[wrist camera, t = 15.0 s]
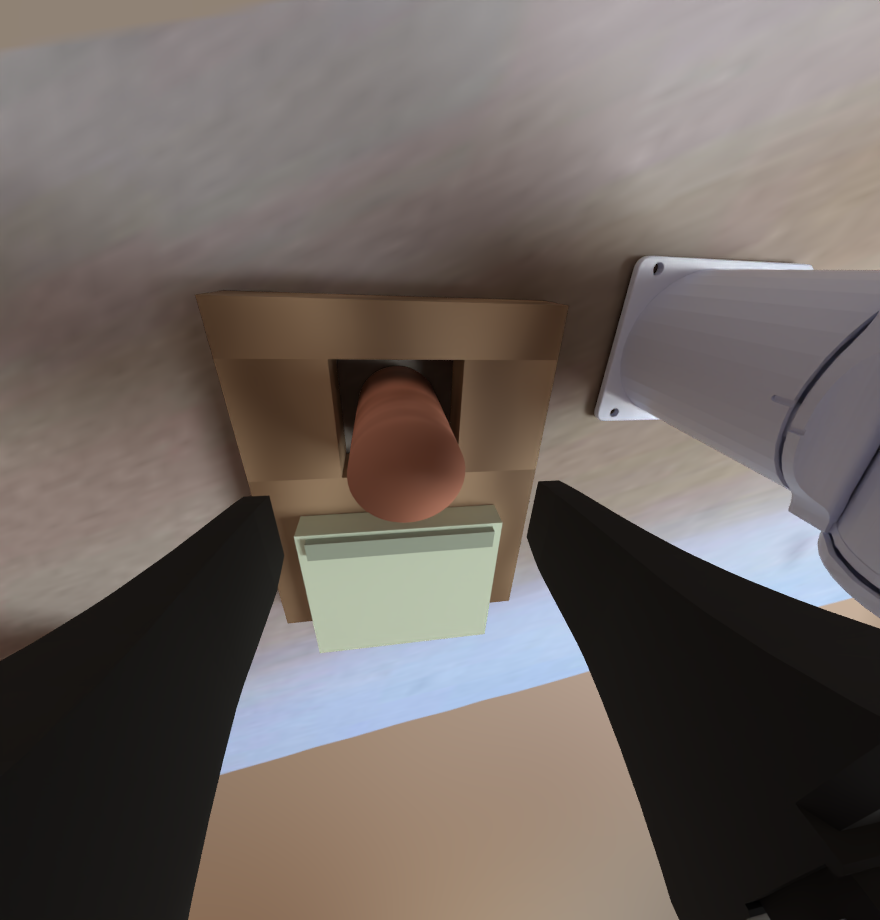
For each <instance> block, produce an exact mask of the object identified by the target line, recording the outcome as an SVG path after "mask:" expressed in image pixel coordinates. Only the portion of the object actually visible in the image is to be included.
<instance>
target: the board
mask: <svg viewBox="0 0 880 920" xmlns="http://www.w3.org/2000/svg"><path fill="white" fill-rule="evenodd" d="M195 296H196V300H197V303H198V307H199V310H200V314H201V317H202V321H203V324H204V328H205V331H206V335H207V339H208V342H209V346H210V349H211V353H212V356H213V360H214V363H215V367H216V371H217V374H218V378H219V381H220V385H221V388H222V392H223V395H224V399H225V402H226V406H227V410H228V413H229V417H230V420H231V424H232V427H233V431H234V434H235V438H236V441H237V445H238V449H239V452H240V456H241V459H242V463H243V466H244V470H245V473H246V477H247V481H248V484H249V488H250V491H251V495H252V496H268V495H269V496H270V500H271V504H272V508H273V512H274V516H275V520H276V524H277V528H278V532H279V536H280V539H281V543H282V547H283V551H284V560H283V565H282V570H281V575H280V579H279V584H278V591H279V594H280V598H281V601H282V605H283V608H284V612H285V615H286V619H287V622H288V623H296V622H306V621H313V620H312V615H311V611H310V606H309V602H308V598H307V593H306V589H305V584H304V580H303V575H302V571H301V566H300V562H299V557H298V553H297V549H296V544H295V540H294V535H295V532H296V529H297V526H298V523H299V520H300V517H301V516H315V515H331V514H348V513H365V512H367V511H366V510H364V509H363V508H362V507H361V506H360V505H359V504H358V503H357V502H356V500H355V499H354V498H353V496H352V494H351V492H350V489H349V486H348V481H347V468H348V461H349V455H350V453H346V444H345V435H344V426H343V416H342V407H341V398H340V389H339V380H338V370H337V361H336V359H392V360H453V373H452V391H451V409H450V428H451V430H452V432H453V434H454V436H455V439H456V441H457V443H458V445H459V448H460V450H461V452H462V454H463V457H464V461H465V478H464V482H463V485H462V488H461V490H460V492H459V494H458V495H457V497H456V498H455V499H454V500H453V502H452V503H451V504H450V505H449V506H448V507H465V506H482V505H494V506H495V508H496V510H497V512H498V514H499V516H500V518H501V520H502V529H501V535H500V541H499V547H498V554H497V560H496V566H495V572H494V578H493V584H492V590H491V596H490V602H500V601H509V597H510V592H511V587H512V582H513V578H514V573H515V568H516V563H517V558H518V553H519V548H520V543H521V538H522V533H523V528H524V524H525V519H526V514H527V509H528V504H529V499H530V494H531V489H532V484H533V479H534V474H535V470H536V465H537V460H538V455H539V450H540V445H541V440H542V435H543V430H544V425H545V420H546V416H547V411H548V406H549V401H550V396H551V391H552V386H553V381H554V376H555V371H556V366H557V361H558V357H559V352H560V347H561V342H562V337H563V332H564V327H565V322H566V317H567V312H568V307H569V306H568V305H563V304H558V303H553V302H548V301H541V300H510V299H478V298H447V297H415V296H383V295H352V294H320V293H289V292H257V291H226V290H223V291H217V292H210V293H203V294H196V295H195ZM448 507H446V508H448Z"/></svg>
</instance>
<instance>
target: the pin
mask: <svg viewBox="0 0 880 920" xmlns="http://www.w3.org/2000/svg"><path fill="white" fill-rule="evenodd" d="M464 478H465V461H464V457H463V454H462V452H461V450H460V448H459V445H458V443H457V441H456V439H455V436H454V434H453V432H452V430H451V428H450V425H449V423H448V421H447V419H446V416H445V414H444V412H443V410H442V408H441V405H440V403H439V401H438V399H437V396H436V394H435V392H434V390H433V388H432V386H431V384H430V382H429V381H428V380H427V379H426V378H425V377H424V376H423V375H422V374H420V373H419V372H417V371H415V370H414V369H411V368H408V367H403V366H391V367H386V368H383V369H381V370H379V371H377V372H375V373H374V374H372V375H371V376H370V377H369V378H368V379H367V380H366V381H365V383H364V384H363V386H362V388H361V390H360V393H359V398H358V404H357V411H356V417H355V423H354V430H353V436H352V442H351V449H350V455H349V461H348V468H347V481H348V486H349V489H350V492H351V494H352V496H353V498H354V499H355V500H356V502H357V503H358V504H359V505H360V506H361V507H362V508H363V509H364V510H366V511H367V512H368V513H370V514H372V515H373V516H375V517H378V518H380V519H383V520H386V521H391V522H398V523H408V522H416V521H421V520H424V519H427V518H430V517H432V516H434V515H436V514H438V513H440V512H441V511H442V510H444V509H445V508H446V507H448V506H449V505H450V504H451V503H452V502H453V500H454V499H455V498H456V497H457V495H458V494H459V492H460V490H461V488H462V485H463V482H464Z"/></svg>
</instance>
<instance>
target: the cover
mask: <svg viewBox="0 0 880 920" xmlns="http://www.w3.org/2000/svg"><path fill="white" fill-rule="evenodd" d="M501 529H502V520H501V518H500V516H499V514H498V512H497V510H496V508H495V506H494V505H482V506H465V507H448V508H445V509H444V510H442V511H441V512H440V513H438V514H436V515H434V516H432V517H430V518H427V519H424V520H421V521H416V522H408V523H398V522H391V521H386V520H383V519H380V518H378V517H375V516H373V515H372V514H370V513H368V512H365V513H348V514H331V515H315V516H301V517H300V520H299V523H298V526H297V529H296V532H295V535H294V540H295V544H296V549H297V553H298V557H299V562H300V566H301V571H302V575H303V580H304V584H305V589H306V593H307V598H308V602H309V606H310V611H311V615H312V620H313V624H314V629H315V633H316V638H317V642H318V647H319V651H320V653H326V652H334V651H343V650H351V649H360V648H368V647H377V646H386V645H394V644H403V643H411V642H420V641H428V640H437V639H446V638H454V637H463V636H471V635H480V634H484V633H485V627H486V621H487V615H488V609H489V603H490V596H491V590H492V584H493V578H494V572H495V566H496V560H497V554H498V547H499V541H500V535H501Z"/></svg>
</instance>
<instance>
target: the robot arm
mask: <svg viewBox="0 0 880 920" xmlns="http://www.w3.org/2000/svg"><path fill="white" fill-rule="evenodd" d="M656 264H657V265H658V269H657V271H656V273H655V274H654V273H653V268H654V266H655V265H656ZM614 408H615V410H614V412H613V413H612V414H610V412H611V410H613V409H614ZM594 414H595V417H597V418H598V419H599V420H602V421H617V420H659V419H660V420H662V421H664V422H666V423H668V424H670V425H671V426H673V427H675V428H677V429H679V430H680V431H682V432H684V433H686V434H688V435H690V436H691V437H693V438H695V439H697V440H699V441H701V442H702V443H704V444H706V445H708V446H710V447H712V448H713V449H715V450H717V451H719V452H721V453H722V454H724V455H726V456H728V457H730V458H732V459H733V460H735V461H737V462H739V463H741V464H743V465H744V466H746V467H748V468H750V469H752V470H754V471H755V472H757V473H759V474H761V475H763V476H764V477H766V478H768V479H770V480H772V481H774V482H775V483H777V484H779V485H781V486H783V487H785V488H786V489H788V490H790V491H791V492H792V499H791V503H790V506H789V512H791V513H792V514H794V515H796V516H797V517H799V518H801V519H802V520H804V521H806V522H807V523H809V524H811V525H812V526H814V527H816V528H817V529H819V530H821V533H820V535H819V539H818V552H819V556H820V558H821V560H822V562H823V565H824V566H825V568H826V569H827V570H828V572H829V573H830V575H831V576H832V577H833V579H834V580H835V581H836V582H837V583H838V584H839V585H840V586H841V587H842V588H843V589H844V590H845V591H846V592H847V593H848V594H849V595H851V596H852V597H853V598H854V599H855V600H856V601H858V602H859V603H860V604H861V605H862V606H864V607H865V608H866V609H868V610H869V611H870V612H872V613H873V614H875V615H876V616H877V617H879V618H880V270H813V267H812V265H809V264H795V263H777V262H758V261H740V260H722V259H704V258H685V257H667V256H644V257H642V258H640V259H639V260H638V261H637V262H636V264H635V266H634V269H633V273H632V277H631V280H630V284H629V287H628V291H627V295H626V298H625V302H624V306H623V309H622V313H621V316H620V320H619V324H618V327H617V331H616V335H615V338H614V342H613V346H612V349H611V353H610V356H609V360H608V364H607V367H606V371H605V375H604V378H603V382H602V386H601V389H600V393H599V396H598V400H597V404H596V407H595V412H594ZM527 539H528V542H529V545H530V548H531V551H532V554H533V556H534V559H535V561H536V564H537V567H538V569H539V571H540V573H541V575H542V577H543V579H544V581H545V583H546V585H547V587H548V589H549V591H550V593H551V594H552V596H553V598H554V600H555V602H556V604H557V606H558V608H559V610H560V612H561V613H562V615H563V617H564V619H565V621H566V623H567V625H568V627H569V629H570V630H571V632H572V634H573V636H574V638H575V640H576V642H577V644H578V646H579V648H580V650H581V652H582V654H583V656H584V659H585V661H586V663H587V666H588V668H589V670H590V673H591V675H592V677H593V680H594V683H595V685H596V687H597V690H598V692H599V695H600V697H601V699H602V702H603V704H604V707H605V710H606V712H607V715H608V718H609V720H610V723H611V725H612V728H613V731H614V733H615V736H616V738H617V741H618V744H619V746H620V749H621V751H622V754H623V757H624V760H625V763H626V766H627V769H628V771H629V774H630V777H631V780H632V783H633V786H634V788H635V791H636V794H637V797H638V800H639V802H640V805H641V808H642V812H643V815H644V817H645V821H646V824H647V827H648V830H649V833H650V836H651V839H652V842H653V845H654V848H655V851H656V854H657V857H658V860H659V864H660V867H661V870H662V873H663V877H664V880H665V883H666V886H667V890H668V893H669V896H670V899H671V903H672V905H673V907H674V909H675V911H676V914H677V916H678V918H679V920H880V629H879V628H876V627H873V626H871V625H867V624H865V623H862V622H859V621H856V620H853V619H850V618H847V617H844V616H841V615H838V614H836V613H832V612H830V611H827V610H824V609H821V608H819V607H816V606H813V605H811V604H808V603H805V602H802V601H800V600H797V599H794V598H792V597H789V596H787V595H784V594H782V593H779V592H777V591H774V590H772V589H769V588H767V587H764V586H762V585H759V584H757V583H754V582H752V581H749V580H747V579H745V578H742V577H740V576H738V575H735V574H733V573H731V572H728V571H726V570H724V569H722V568H720V567H717V566H715V565H713V564H711V563H709V562H707V561H704V560H702V559H700V558H698V557H696V556H694V555H692V554H690V553H688V552H686V551H684V550H682V549H679V548H678V547H676V546H674V545H672V544H670V543H668V542H666V541H664V540H662V539H661V538H659V537H657V536H655V535H653V534H651V533H649V532H647V531H646V530H644V529H642V528H640V527H639V526H637V525H635V524H633V523H631V522H630V521H628V520H626V519H625V518H623V517H621V516H619V515H618V514H616V513H614V512H613V511H611V510H609V509H608V508H606V507H604V506H603V505H601V504H599V503H598V502H596V501H594V500H593V499H591V498H589V497H588V496H586V495H584V494H583V493H581V492H579V491H577V490H576V489H574V488H572V487H570V486H569V485H567V484H565V483H563V482H561V481H559V480H558V481H539V482H538V485H537V490H536V495H535V500H534V504H533V509H532V514H531V519H530V523H529V528H528V533H527ZM283 560H284V551H283V547H282V543H281V539H280V536H279V532H278V528H277V524H276V520H275V516H274V512H273V508H272V504H271V500H270V496H269V495H268V496H249V497H243V498H241V499H240V500H238V501H237V502H235V503H234V504H233V505H231V506H230V507H229V508H227V509H226V510H225V511H223V512H222V513H221V514H219V515H218V516H217V517H216V518H214V519H213V520H212V521H210V522H209V523H208V524H207V525H205V526H204V527H203V528H201V529H200V530H199V531H197V532H196V533H195V534H194V535H192V536H191V537H190V538H188V539H187V540H186V541H184V542H183V543H182V544H180V545H179V546H178V547H177V548H175V549H174V550H173V551H171V552H170V553H169V554H167V555H166V556H164V557H163V558H162V559H160V560H159V561H157V562H156V563H154V564H153V565H152V566H150V567H149V568H147V569H146V570H145V571H143V572H142V573H140V574H139V575H138V576H136V577H135V578H133V579H132V580H131V581H129V582H128V583H126V584H125V585H123V586H122V587H121V588H119V589H118V590H116V591H115V592H113V593H112V594H110V595H109V596H107V597H106V598H104V599H103V600H101V601H100V602H98V603H97V604H95V605H93V606H92V607H90V608H89V609H87V610H86V611H84V612H83V613H81V614H79V615H78V616H76V617H74V618H73V619H71V620H70V621H68V622H66V623H65V624H63V625H62V626H60V627H58V628H57V629H55V630H53V631H52V632H50V633H49V634H47V635H45V636H44V637H42V638H40V639H39V640H37V641H35V642H34V643H32V644H30V645H28V646H27V647H25V648H23V649H21V650H19V651H18V652H16V653H14V654H12V655H11V656H9V657H7V658H5V659H4V660H2V661H0V920H188V917H189V912H190V906H191V901H192V896H193V891H194V887H195V882H196V878H197V873H198V868H199V864H200V859H201V854H202V850H203V845H204V840H205V836H206V831H207V827H208V821H209V817H210V813H211V809H212V805H213V801H214V796H215V792H216V788H217V783H218V780H219V775H220V771H221V767H222V763H223V759H224V755H225V751H226V747H227V743H228V739H229V735H230V731H231V727H232V724H233V720H234V716H235V712H236V708H237V705H238V702H239V698H240V695H241V692H242V689H243V686H244V683H245V680H246V677H247V674H248V672H249V669H250V666H251V663H252V660H253V658H254V655H255V652H256V649H257V646H258V644H259V641H260V638H261V635H262V632H263V630H264V627H265V624H266V621H267V618H268V616H269V613H270V610H271V607H272V604H273V601H274V598H275V595H276V592H277V588H278V584H279V579H280V575H281V570H282V565H283Z"/></svg>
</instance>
